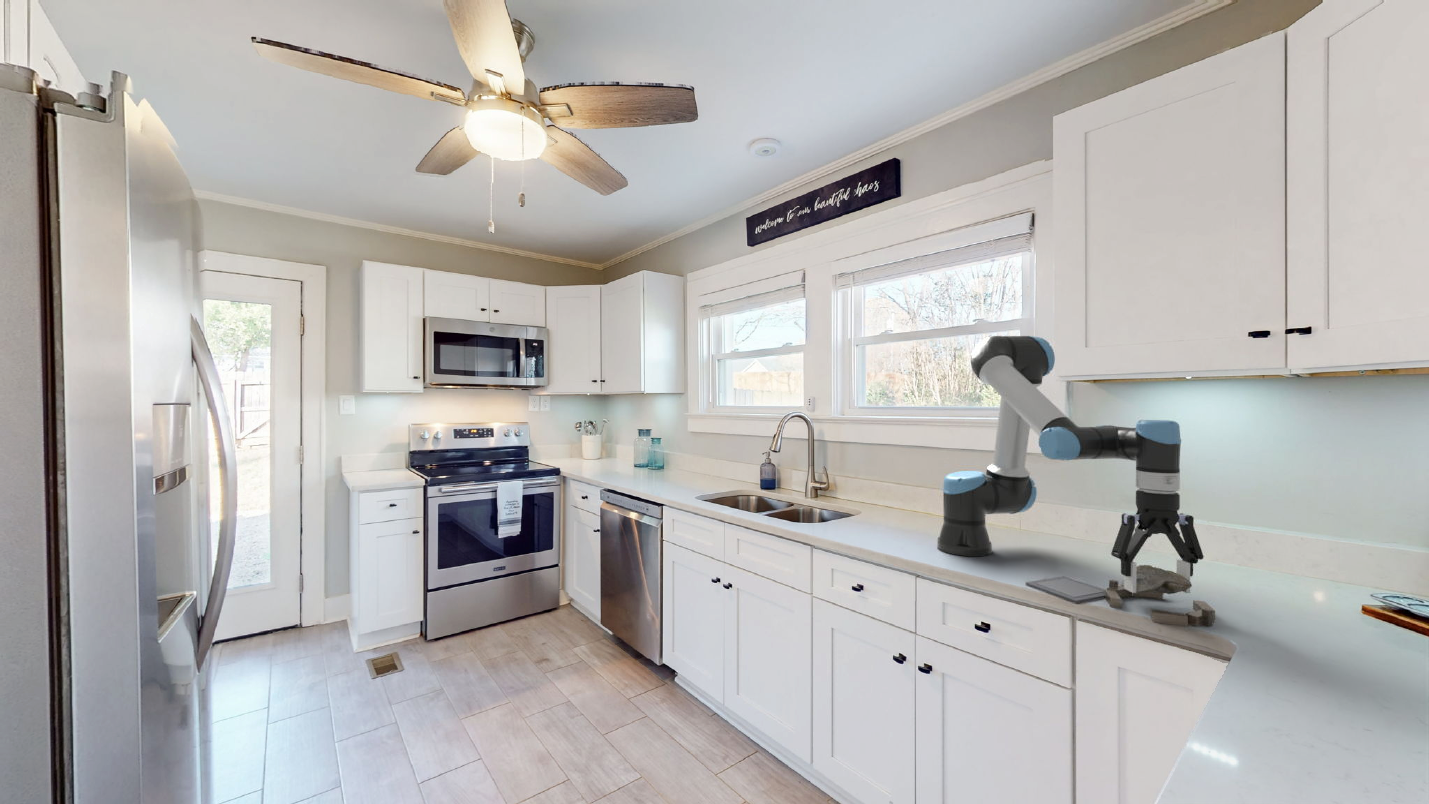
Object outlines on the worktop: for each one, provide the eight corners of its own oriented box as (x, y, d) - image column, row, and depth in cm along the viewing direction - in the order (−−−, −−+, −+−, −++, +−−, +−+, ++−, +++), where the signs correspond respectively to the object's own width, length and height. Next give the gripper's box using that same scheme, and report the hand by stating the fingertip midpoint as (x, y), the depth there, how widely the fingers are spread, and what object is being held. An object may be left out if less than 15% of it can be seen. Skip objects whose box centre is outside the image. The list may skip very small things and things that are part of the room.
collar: (1086, 598, 127) (1086, 584, 127) (1134, 588, 133) (1134, 575, 133) (1183, 632, 109) (1183, 616, 109) (1235, 620, 114) (1236, 605, 114)
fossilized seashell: (1131, 572, 130) (1142, 548, 127) (1185, 599, 122) (1198, 575, 119) (1114, 591, 123) (1125, 566, 121) (1171, 621, 116) (1184, 595, 113)
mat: (1025, 584, 137) (1025, 581, 136) (1063, 578, 141) (1063, 575, 141) (1075, 603, 124) (1075, 600, 124) (1115, 595, 129) (1115, 592, 129)
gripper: (1115, 493, 117) (1114, 596, 118) (1227, 493, 117) (1226, 597, 117) (1092, 487, 125) (1091, 584, 125) (1197, 487, 124) (1196, 584, 124)
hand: (1156, 590), depth 121 cm, fingers closed on fossilized seashell, 11 cm apart
